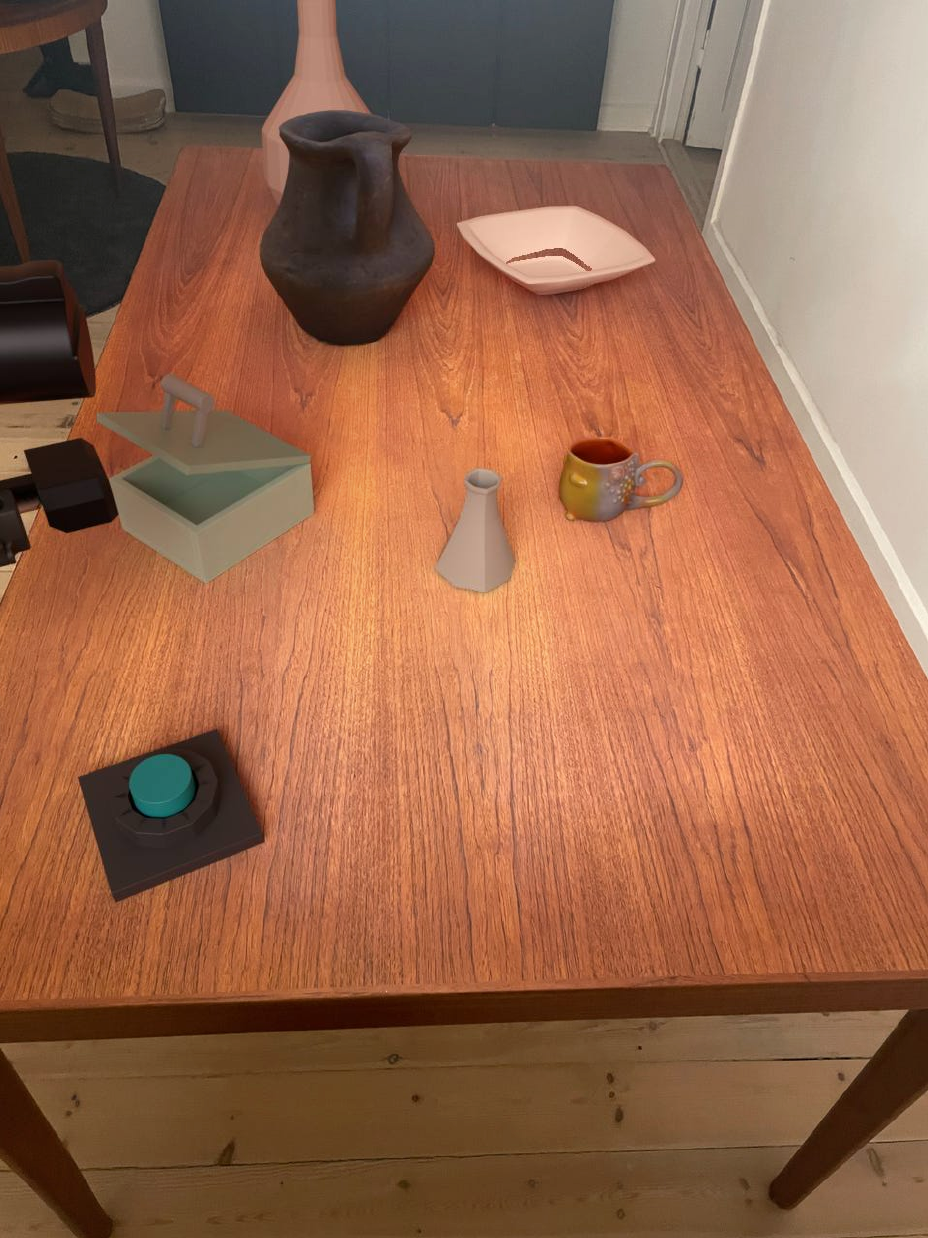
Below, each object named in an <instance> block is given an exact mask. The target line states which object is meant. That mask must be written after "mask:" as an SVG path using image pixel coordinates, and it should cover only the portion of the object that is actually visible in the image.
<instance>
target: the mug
mask: <svg viewBox="0 0 928 1238" xmlns="http://www.w3.org/2000/svg"><path fill="white" fill-rule="evenodd" d="M566 451H567V452H566V454H565V456H564V457H563V467H562V470H561V473H560V477H559V481H558V496H559V500H560V502H561V504H562V506H563V508H564V510H565V511H566V512H565V519H566V520H568V521H571V522H572V521H577V520H581V521H584V522H588V523H589V522H592V523H603V522H608V521H611V520H614V519H617V517H619V516H620V515H621V514H622V513H624V512H626V511H632V510H639V509H646V508H647V509H648V508H652V507H653V508H654V507H657V506H660V505H662V504H665V503H667V502H669V501H670V500H672V499H673V498H675V497H676V496H677V495H679V493H680V492H681V490H682V488H683V484H684V475H683V473H682V471H681V469H680V468H679V466H677V465H676V464H675V463H673V462H672V461H670V460H668V459H665V458H655V459H651V460H648V461H646V462H644V463H642V464H640V465H639V463H640V455H639V453H638V452H637V451H636V450H635V451H634V450H633V449H632V448H630V447H629V446H628V445H627V444H626V443H624V442H623V441H621V440H619V439H616V438H614V437H611V436H592V437H585V438H579V439H577V440H575V441H574V442H573V443H571V444H570V445H569V446H568V448H567V450H566ZM653 468H665V469H667V470H669V471H670V472H671V473H672V474H673V477H674V480H673V481H674V482H673V484H672V486H671V487H670V488H669V489H668V490H666V491H665V492H664V493H661V494H657V495H650V496H643V495H638V494H637V493H636V492H635V489H636V488H642V487H643V486H645V484H646V478H645V475H643V473H644V472H646V471H647V470H650V469H653Z"/></svg>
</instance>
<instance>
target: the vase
mask: <svg viewBox="0 0 928 1238" xmlns="http://www.w3.org/2000/svg"><path fill="white" fill-rule="evenodd" d="M296 3H297V4H296V5H297V21H298V39H297V48H296V55H295V65H294V73H293V75H292V77H291V79H290V80H289V82H288V84H287V85H286V87H285V89H284V90H283V92H282V93H281V95H280V96H279V98H278V100H277V102H276V103H275V105H274V106H273V108H272V110H271V112H269V115H268V116H267V118H266V119H265V121H264V123H263V125H262V128H261V142H262V145H261V146H262V163H263V164H262V166H263V179H264V181H265V183H266V186H267V188H268V190H269V192H270V195H271V196H272V198H273V200H274V202H275V204H276V205H277V207H278V206H279V204H280V201H281V199H282V195H283V191H284V188H285V184H286V179H287V175H288V167H289V151H288V149H287V147H286V145H285V144H284V142H283V141H282V139H281V137H280V136H279V126H280V125H281V124H282V123H284V122H285V121H287V120H289V119H291V118H294V117H296V116H300V115H305V114H308V113H313V112H319V111H328V110H347V111H354V112H361V113H367V114H372V112H371V111H370V110H369V108H368V107H367V105H366V103H365V102H364V101H363V99H362V98H361V96H360V95H359V93H358V92H357V90H356V89H355V88H354V86H353V85H352V83H351V82H350V80H349V79H348V77H347V75H346V72H345V66H344V62H343V57H342V52H341V48H340V42H339V38H338V33H337V6H336V5H337V4H336V0H296Z"/></svg>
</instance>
